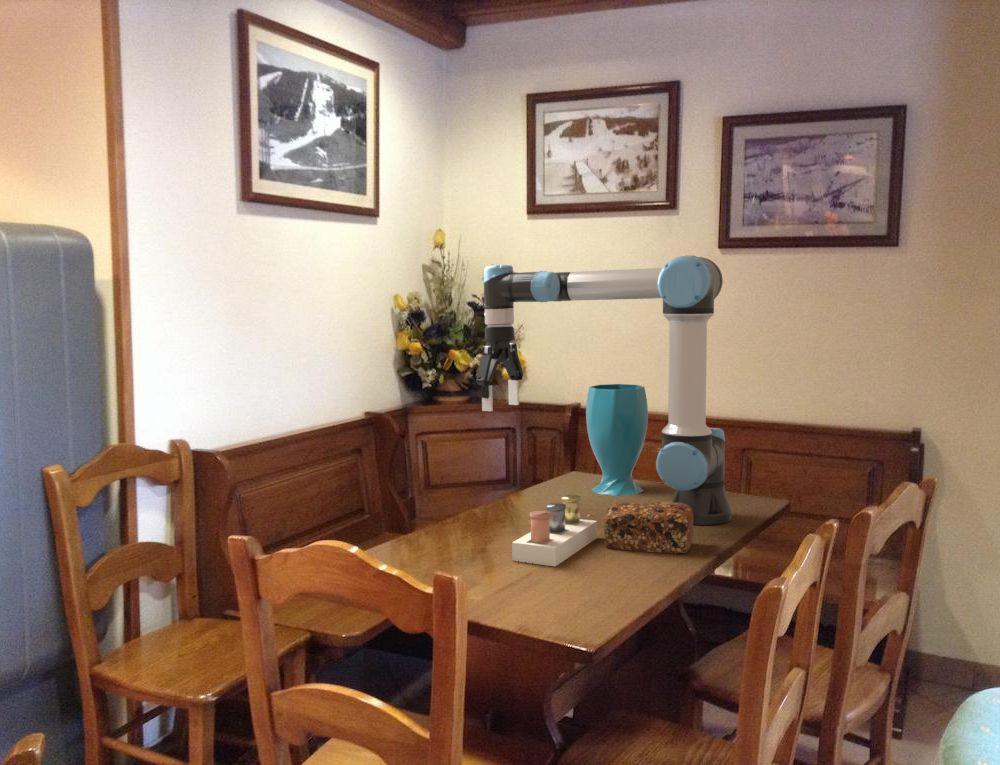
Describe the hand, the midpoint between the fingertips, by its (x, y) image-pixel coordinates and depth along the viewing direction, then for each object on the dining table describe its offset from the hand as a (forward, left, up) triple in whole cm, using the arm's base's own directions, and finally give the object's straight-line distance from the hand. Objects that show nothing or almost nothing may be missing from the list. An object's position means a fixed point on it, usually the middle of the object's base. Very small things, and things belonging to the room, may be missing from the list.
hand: (500, 407), depth 229 cm
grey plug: (-26, +25, -23) cm, 43 cm away
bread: (-44, +15, -28) cm, 55 cm away
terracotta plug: (-26, +34, -23) cm, 49 cm away
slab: (-26, +25, -28) cm, 46 cm away
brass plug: (-27, +17, -23) cm, 39 cm away
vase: (-18, -36, -28) cm, 49 cm away
